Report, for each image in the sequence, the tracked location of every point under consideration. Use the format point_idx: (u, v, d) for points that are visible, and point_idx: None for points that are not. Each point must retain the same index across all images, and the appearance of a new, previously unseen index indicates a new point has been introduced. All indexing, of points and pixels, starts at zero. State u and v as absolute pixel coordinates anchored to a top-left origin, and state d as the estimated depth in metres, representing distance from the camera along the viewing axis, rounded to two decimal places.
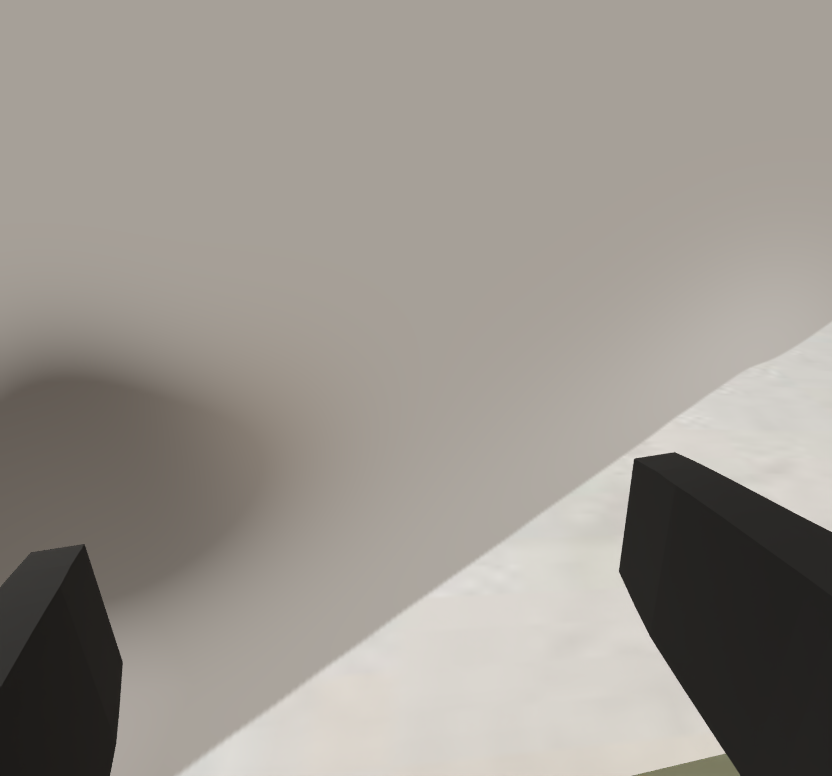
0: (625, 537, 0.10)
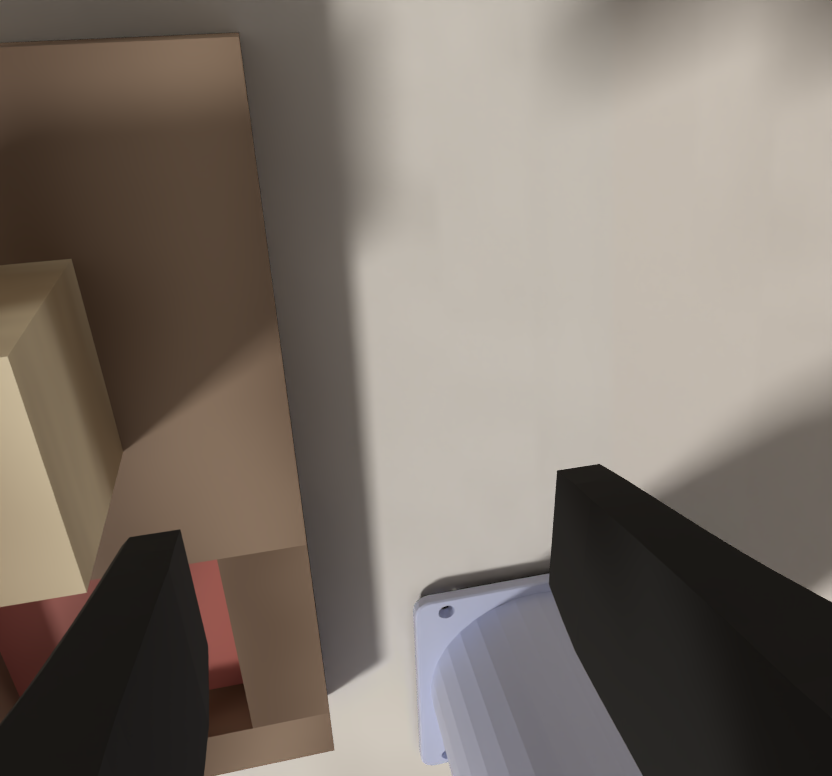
0: (553, 550, 0.10)
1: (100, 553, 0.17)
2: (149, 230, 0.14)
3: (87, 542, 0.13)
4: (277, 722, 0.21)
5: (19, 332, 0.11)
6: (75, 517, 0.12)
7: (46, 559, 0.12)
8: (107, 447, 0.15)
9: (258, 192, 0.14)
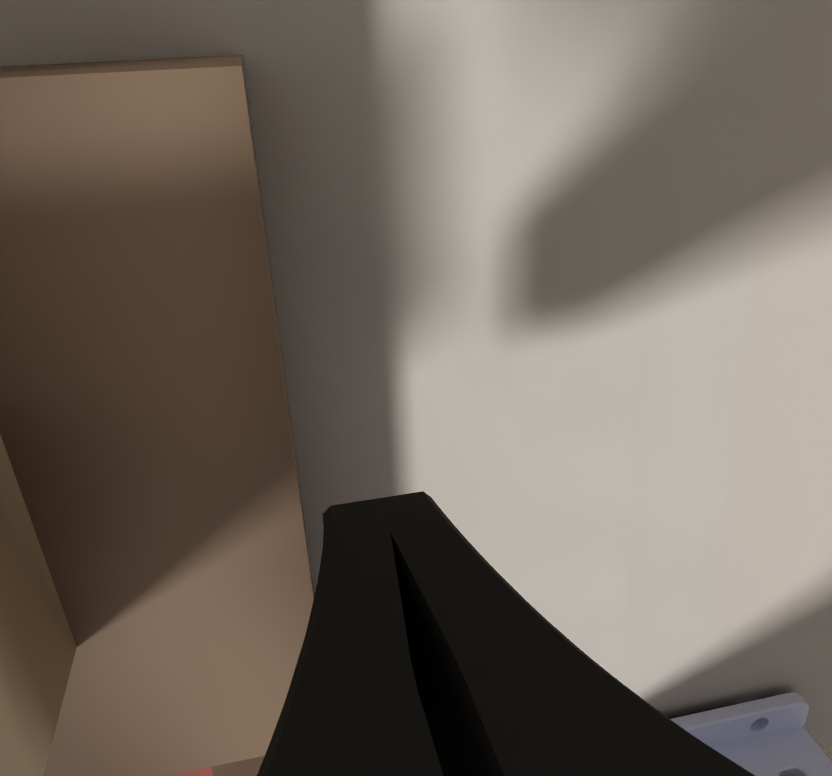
0: None
1: (48, 772, 0.13)
2: (106, 355, 0.09)
3: None
4: None
5: None
6: None
7: None
8: (47, 665, 0.10)
9: (270, 296, 0.10)
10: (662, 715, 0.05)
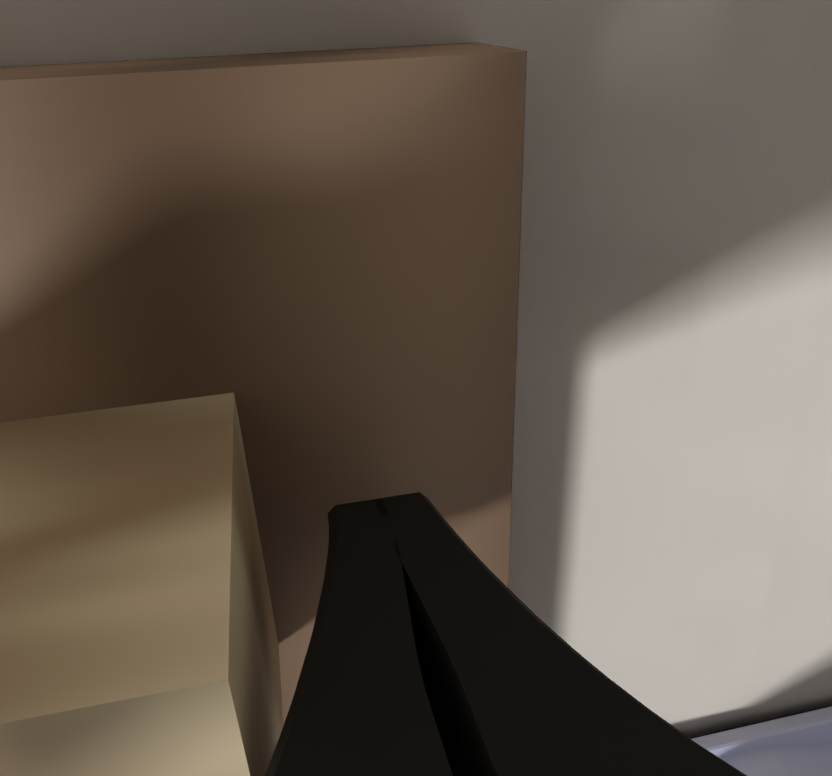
0: None
1: None
2: (352, 347, 0.09)
3: None
4: None
5: (221, 593, 0.06)
6: None
7: None
8: (274, 662, 0.10)
9: (516, 287, 0.09)
10: (657, 716, 0.05)
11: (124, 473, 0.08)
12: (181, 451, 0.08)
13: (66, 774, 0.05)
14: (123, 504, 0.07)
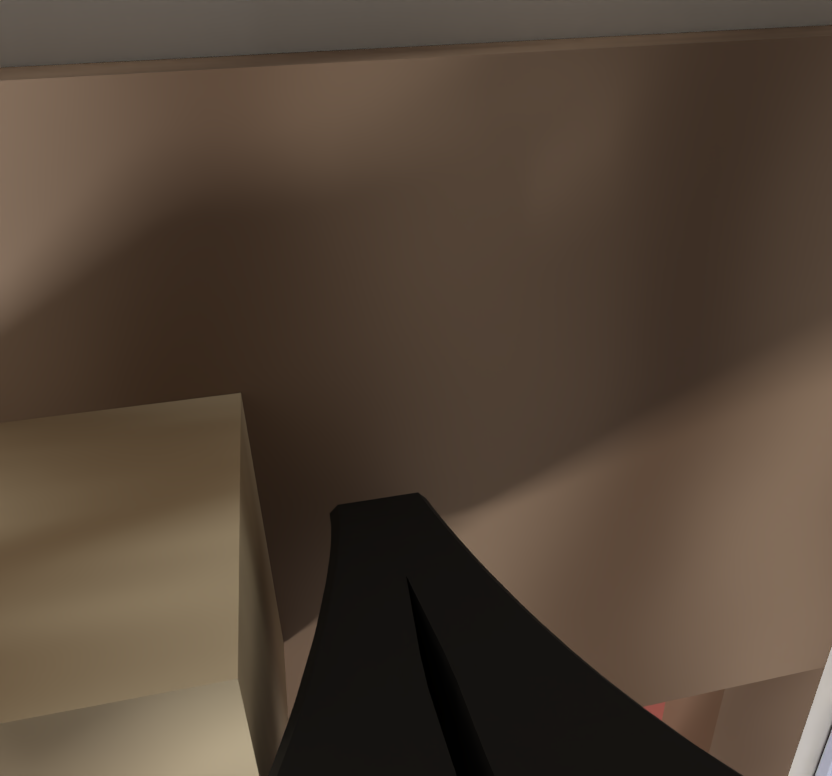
0: None
1: None
2: (826, 290, 0.10)
3: None
4: None
5: (230, 593, 0.06)
6: None
7: None
8: (280, 662, 0.10)
9: None
10: (654, 716, 0.05)
11: (132, 473, 0.08)
12: (189, 451, 0.08)
13: (76, 770, 0.05)
14: (131, 505, 0.07)
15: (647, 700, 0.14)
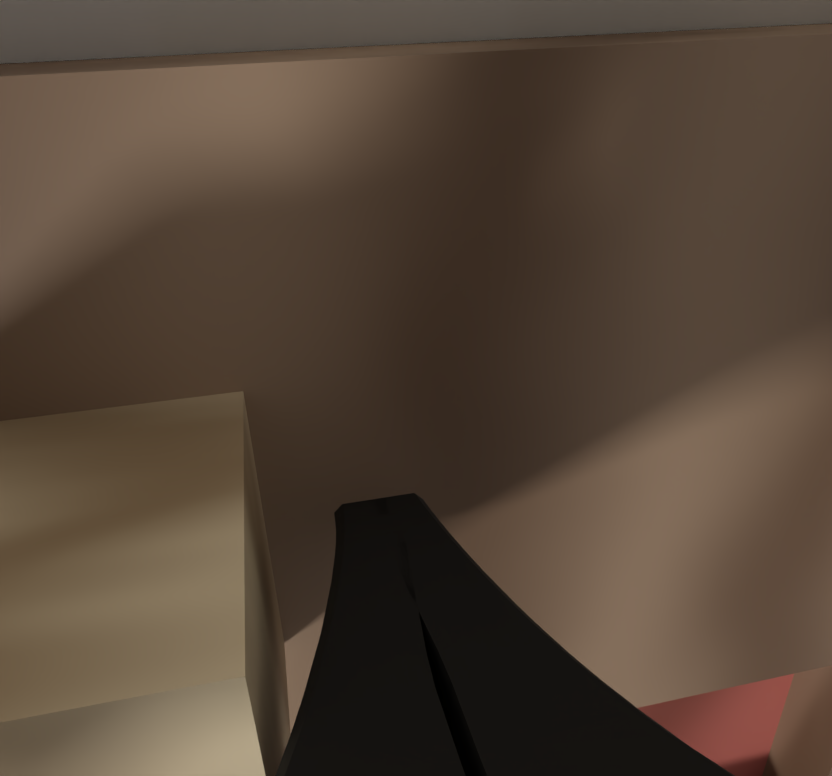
0: None
1: (768, 654, 0.14)
2: None
3: None
4: None
5: (236, 590, 0.06)
6: None
7: None
8: (281, 661, 0.10)
9: None
10: (648, 718, 0.05)
11: (135, 471, 0.08)
12: (192, 449, 0.08)
13: (81, 769, 0.05)
14: (135, 502, 0.07)
15: (802, 666, 0.15)
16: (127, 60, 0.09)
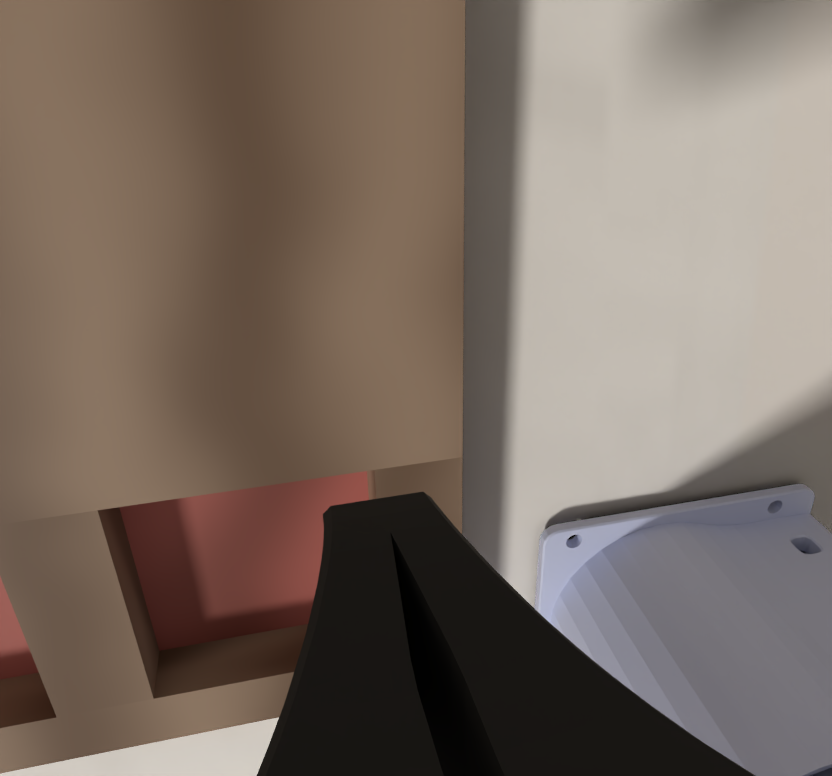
0: None
1: (263, 460, 0.17)
2: (353, 107, 0.14)
3: None
4: None
5: None
6: None
7: None
8: None
9: (463, 70, 0.14)
10: (662, 715, 0.05)
11: None
12: None
13: None
14: None
15: (308, 477, 0.18)
16: None
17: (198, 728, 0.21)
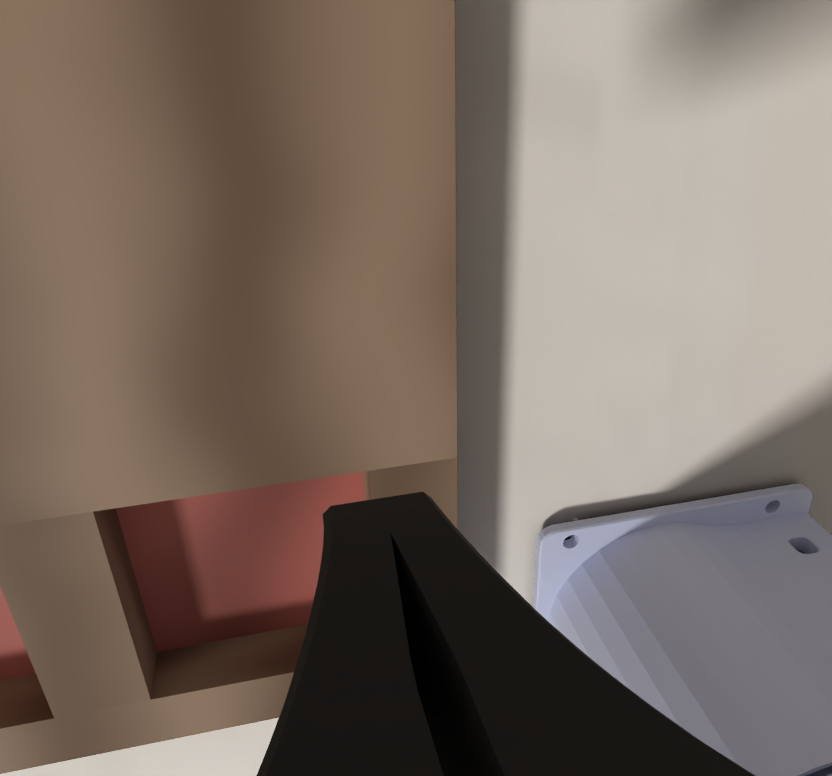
0: None
1: (257, 461, 0.17)
2: (344, 109, 0.14)
3: None
4: None
5: None
6: None
7: None
8: None
9: (453, 71, 0.14)
10: (662, 715, 0.05)
11: None
12: None
13: None
14: None
15: (303, 477, 0.18)
16: None
17: (195, 729, 0.21)
